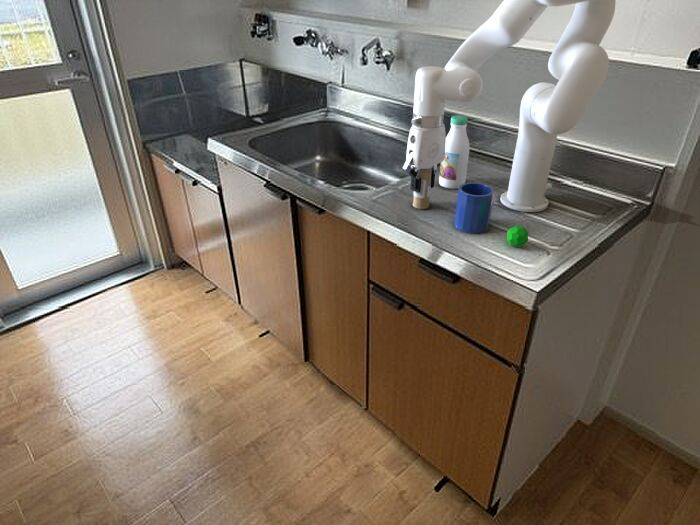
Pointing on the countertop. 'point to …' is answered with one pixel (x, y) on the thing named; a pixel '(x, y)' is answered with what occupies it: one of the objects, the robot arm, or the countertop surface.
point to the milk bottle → (455, 154)
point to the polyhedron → (517, 236)
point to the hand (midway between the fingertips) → (422, 187)
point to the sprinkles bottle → (423, 189)
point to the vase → (473, 207)
